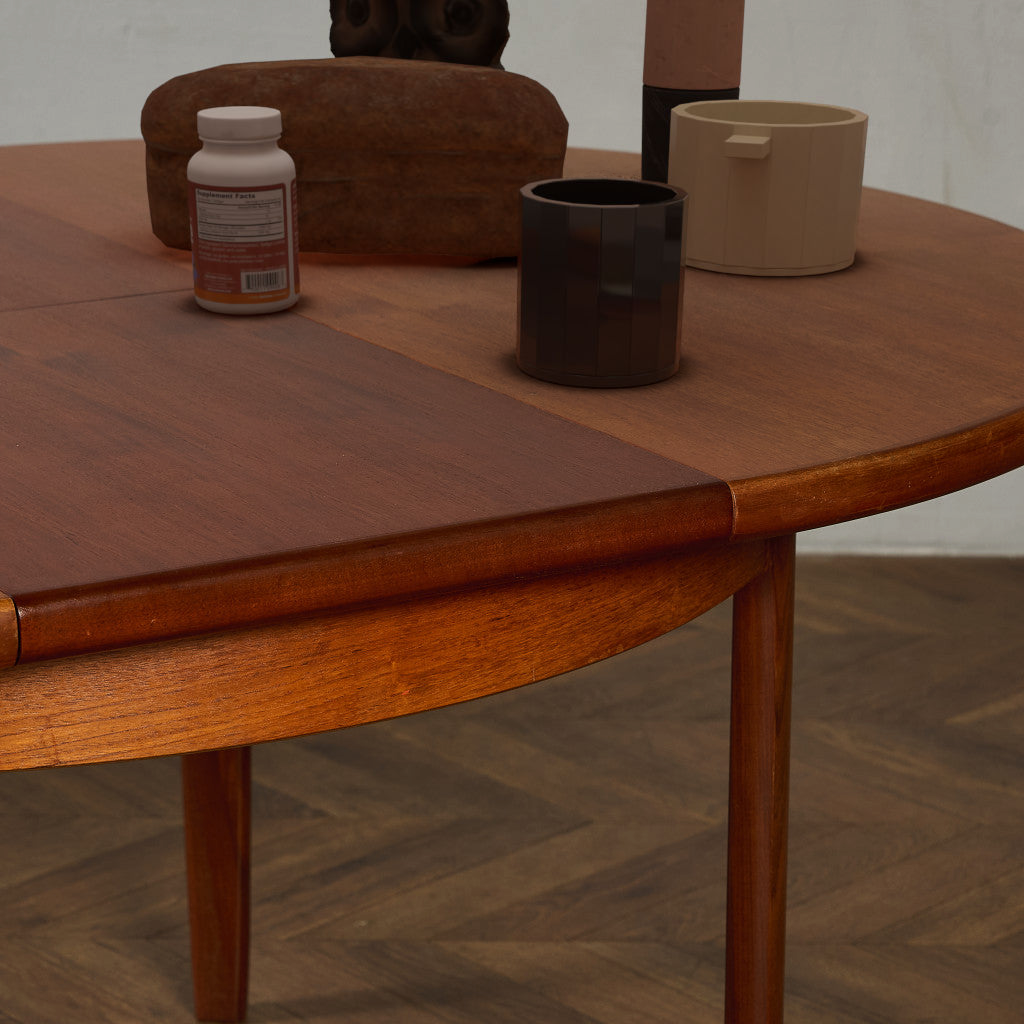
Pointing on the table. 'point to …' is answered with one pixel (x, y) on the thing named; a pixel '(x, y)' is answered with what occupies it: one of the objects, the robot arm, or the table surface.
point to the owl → (421, 30)
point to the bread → (373, 150)
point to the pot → (769, 184)
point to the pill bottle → (243, 213)
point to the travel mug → (686, 67)
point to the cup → (600, 280)
